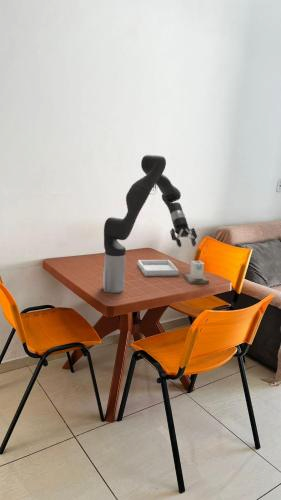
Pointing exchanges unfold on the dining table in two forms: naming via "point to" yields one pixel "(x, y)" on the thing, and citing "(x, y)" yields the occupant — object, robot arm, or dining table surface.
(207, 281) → the stake base
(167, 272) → the tray
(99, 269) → the dining table surface
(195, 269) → the sleeve
